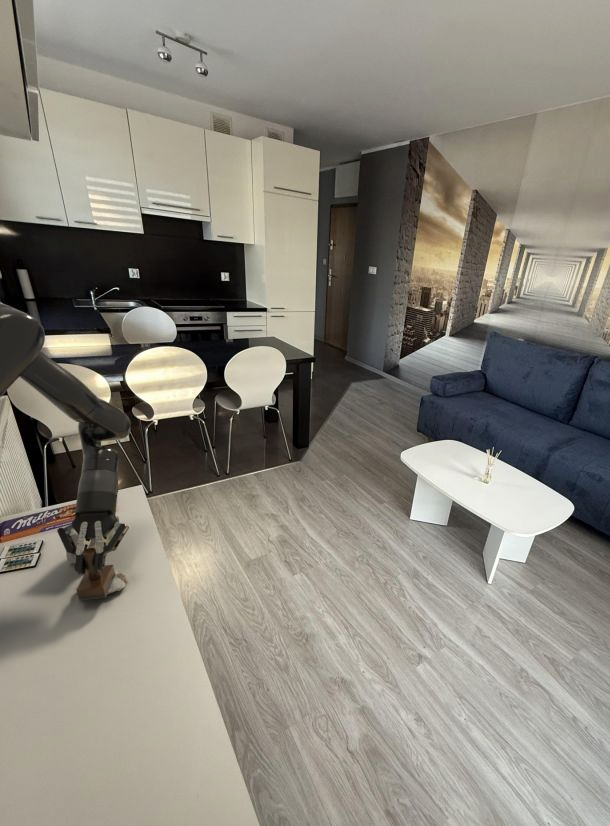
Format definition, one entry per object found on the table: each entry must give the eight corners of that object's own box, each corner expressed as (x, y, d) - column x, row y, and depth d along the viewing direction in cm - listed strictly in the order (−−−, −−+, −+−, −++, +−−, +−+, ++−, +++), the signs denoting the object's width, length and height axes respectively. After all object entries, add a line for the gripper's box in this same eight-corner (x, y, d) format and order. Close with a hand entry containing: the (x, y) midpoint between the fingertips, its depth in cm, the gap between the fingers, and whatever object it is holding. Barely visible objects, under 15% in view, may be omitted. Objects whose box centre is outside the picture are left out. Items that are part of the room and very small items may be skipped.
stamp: (79, 600, 84) (68, 563, 80) (91, 577, 90) (81, 541, 86) (105, 597, 85) (96, 561, 81) (115, 574, 91) (107, 539, 87)
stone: (80, 609, 86) (78, 600, 84) (76, 588, 91) (73, 579, 89) (130, 591, 91) (128, 582, 90) (123, 572, 96) (122, 563, 95)
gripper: (54, 491, 84) (41, 576, 78) (127, 487, 87) (120, 568, 82) (69, 498, 91) (59, 577, 85) (137, 495, 94) (131, 570, 89)
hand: (89, 572), depth 83 cm, fingers closed on stamp, 2 cm apart
